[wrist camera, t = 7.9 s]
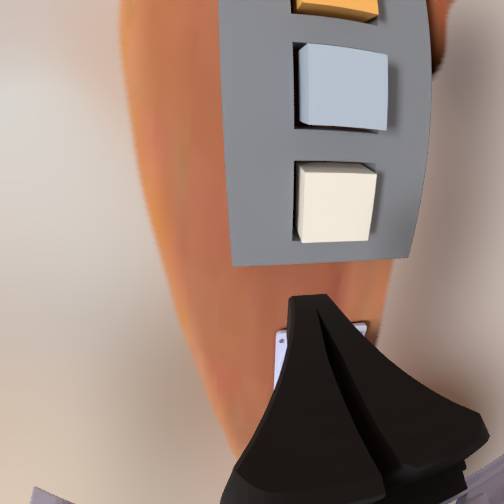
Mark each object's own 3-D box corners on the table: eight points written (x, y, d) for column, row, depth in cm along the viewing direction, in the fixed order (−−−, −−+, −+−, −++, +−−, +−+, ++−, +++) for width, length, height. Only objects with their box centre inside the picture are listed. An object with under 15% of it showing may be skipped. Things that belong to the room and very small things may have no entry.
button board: (396, 243, 20) (408, 257, 18) (233, 250, 19) (232, 266, 18) (403, -31, 9) (418, -39, 7) (219, -55, 9) (217, -70, 7)
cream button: (353, 222, 18) (367, 240, 16) (294, 224, 18) (302, 242, 16) (360, 163, 16) (376, 174, 14) (296, 161, 16) (305, 172, 14)
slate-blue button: (366, 125, 14) (386, 130, 12) (298, 120, 14) (308, 124, 12) (367, 59, 12) (387, 54, 10) (297, 51, 12) (307, 43, 10)
